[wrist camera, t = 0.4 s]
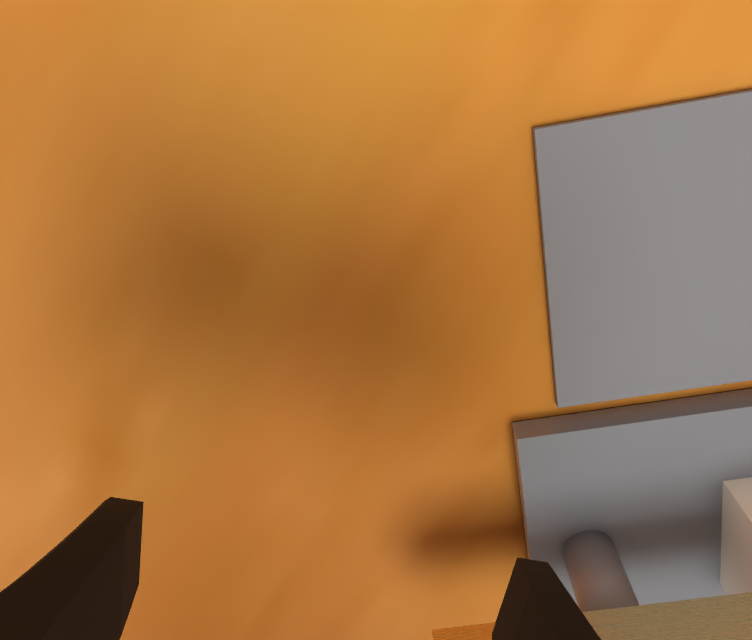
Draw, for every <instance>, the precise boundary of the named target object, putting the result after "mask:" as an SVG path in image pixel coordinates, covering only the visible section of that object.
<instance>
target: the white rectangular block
mask: <svg viewBox="0 0 752 640" xmlns="http://www.w3.org/2000/svg"><path fill="white" fill-rule="evenodd" d="M720 584H721V586H722V588H723V589H724V591H725V593H726V595H730V594H739V593H747V592H752V477H749V478H742V479H734V480H727V481H723V496H722V532H721V568H720Z"/></svg>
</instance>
